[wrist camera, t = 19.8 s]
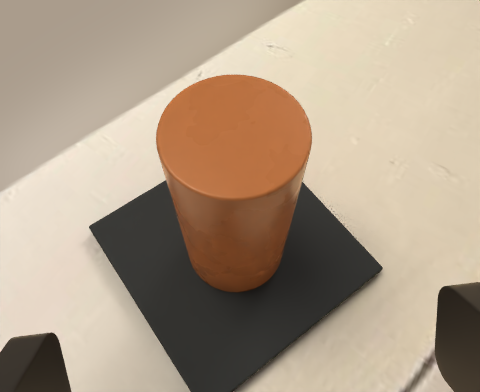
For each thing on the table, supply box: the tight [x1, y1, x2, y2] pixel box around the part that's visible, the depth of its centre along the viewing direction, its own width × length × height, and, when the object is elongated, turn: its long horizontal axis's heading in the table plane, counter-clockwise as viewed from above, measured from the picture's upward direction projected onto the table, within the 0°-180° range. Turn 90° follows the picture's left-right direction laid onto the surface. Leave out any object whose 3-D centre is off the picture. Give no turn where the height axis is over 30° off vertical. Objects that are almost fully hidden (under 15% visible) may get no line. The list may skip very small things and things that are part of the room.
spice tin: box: [156, 75, 312, 292], centre depth 14 cm, size 4×4×8 cm
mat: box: [89, 181, 382, 392], centre depth 18 cm, size 9×9×1 cm
